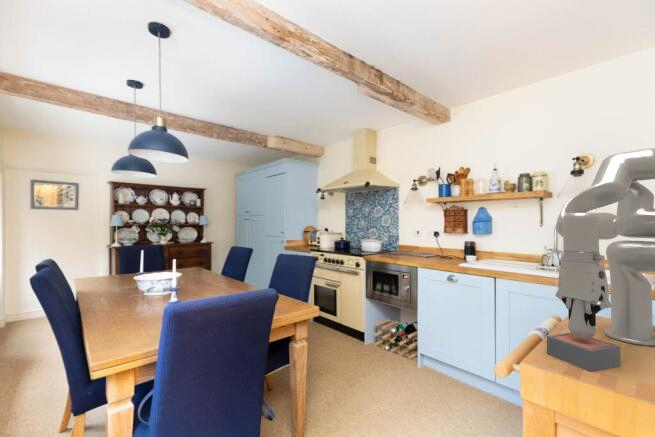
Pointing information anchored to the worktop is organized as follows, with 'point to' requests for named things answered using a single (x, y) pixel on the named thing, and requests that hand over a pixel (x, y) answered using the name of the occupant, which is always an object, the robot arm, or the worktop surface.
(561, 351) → the press housing
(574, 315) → the grey bowling pin
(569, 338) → the pan
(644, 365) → the worktop surface
